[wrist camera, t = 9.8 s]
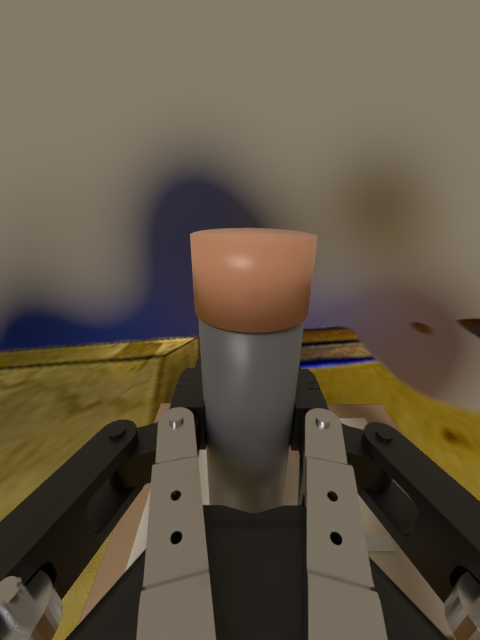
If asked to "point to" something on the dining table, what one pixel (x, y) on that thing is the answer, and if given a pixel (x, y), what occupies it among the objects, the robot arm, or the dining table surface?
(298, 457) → the clipboard
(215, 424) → the marker
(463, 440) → the dining table surface
